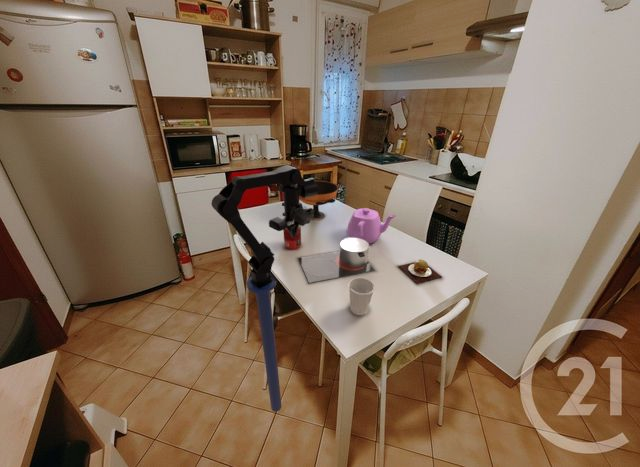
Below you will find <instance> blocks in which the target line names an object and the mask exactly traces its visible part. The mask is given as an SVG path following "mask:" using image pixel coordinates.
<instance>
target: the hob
mask: <svg viewBox="0 0 640 467" xmlns="http://www.w3.org/2000/svg"><path fill="white" fill-rule="evenodd" d="M339 256H340V250H337V251H332V252H327V253H319V254H314V255H308V256H301V257H297V260H298V261H299V264H300V266H301V268H302V270H303V272H304V276H305V277H306V279H307V281H308V284H314V283H320V282H323V281H329V280H334V279H340V278H345V277H349V276H350V277H351V276H356V275H360V274H361V275H362V274H365V273H370V272H376V269H375V268H374V267H373V266H372V264H371V263H370V262H369V260H367V264H366V265H365V266H364V267H362V268H358V269H353V268H348V267H345V266H343V265H342V264H341V263H340V261H339Z"/></svg>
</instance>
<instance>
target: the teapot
mask: <svg viewBox="0 0 640 467" xmlns="http://www.w3.org/2000/svg"><path fill="white" fill-rule="evenodd" d="M396 217H397V215H395V214H392V215H391V214H390V215H388V216H387V217H386V219H385V222H384V223H383V224H382V222H381V217H380V213H379V212H378V211H377V210H374V209H370V208H368V207H364V208H358V209H356V210H355V211H354V212H353V214H352V215H351V216H350V219H349V221H348V223H347V229H346V234H347V237H350V238H360V239H363V240H365V241H366V242H367V243H368V244H373V243H375V242H376V241H377V240H378V239H379V238H380V236H381V235H382V234H384V233H385V232H386V231H387V229H388V228H389V225H390V223H391V221H392V219H394V218H396Z"/></svg>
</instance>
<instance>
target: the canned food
mask: <svg viewBox="0 0 640 467" xmlns="http://www.w3.org/2000/svg"><path fill="white" fill-rule="evenodd" d="M282 231H283V232H282V233H283V243H284V244H283V245H284V247H285V248H286V249H287V250H291V251H293V250H298V249H300V248H301V246H302V226H301V225H299V227H298V230H297V233H296V236H295V238H292V237H291V235H290V233H289V231H288V230H287V228H286V229H284V230H282Z"/></svg>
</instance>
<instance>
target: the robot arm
mask: <svg viewBox="0 0 640 467" xmlns="http://www.w3.org/2000/svg"><path fill="white" fill-rule="evenodd" d="M315 181H316V178H313V177H308V178H307V179H304V178H303V176H302V172H301V171H300V169H299V168H297V167H294V166H291V165H288V164H285V165H282V166H279V167H277V168H275V169H274V170H272V171H266V172H261V173H259V172H258V173H252V174H248V175H241V176H239V175H236V176H234V177H233V178H232V179H231V180H230V181H229V183H227V185H224V187H223V188H221V190H220V191H219V193H218V194H216V195H215V196H214V197H213V198H212V199H211V203H210V204H211V207H212V209H214V210H215V211H216V213H217V214H218V215H219V216H221V217H222V218H223V219H224V220H225V221H226V222H228V223H229V224H230V225H231V226H232V228H233V229H234V230H235V231H236V232H237V234H238V235H239V237H240V238H241V239H242V240H243V241H244V243H245V244H246V245H247V247H248V248H249V251H250V254H251V255H252V256H251V257H250V258H249V260H248V262H247V263H248V265H249V266H250V267H251V268H252V269H250V274H251V276H252V280H250V282H251V283H252V284H254V285H255V286H256V287H258V288H259V289H260V288H262V287H264V286H266V285H267V284H269V283H271V282H272V281H273V280H272V279H271V270H272V267H273V264H274V262H275V260H276V258H275V253H273V252H272V250H271V248H270V247H269V246H268V245H267V244H266V243H265V242H264V241H261V242H259V240H258V239H257V237H255V235H254V234H253V232H252V231H251V230H250V228H249V227H248V226H247V224H246V223H245V222H244V220H243V219H242V217H241V213H240V211H239V208H238V206H239V205H240V203H241V202H242V200H243V197H244V194H245V192H246V191H248V190H252V189H258V188H263V187H269V186H274V185H279V186H278V187H277V190H278V191H280V192H281V193H283V194H282V195H283V202H281V206H282V207H283V208H284V212H282V216H283V218H281V217H278V216H276V217H274V218H271V219H269V221H268V227H269V228H271V229H272V230H275V231H277V232H282V231H283V230H284V229H286V228H287V230H288V231H289V233H290V235H291V237H292V238H295V236H296V233H297V230H298V227H299V225H301V227H304V226H306V225H308V224H310V223H311V220H313V219H312V218H314V210H313V207H307V206H303V202H300V200H299V196H301V197H302V198H307V197H311V196H315V195H317V194H318V187H317V184H316V183H315ZM296 184H297V185H296Z"/></svg>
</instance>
